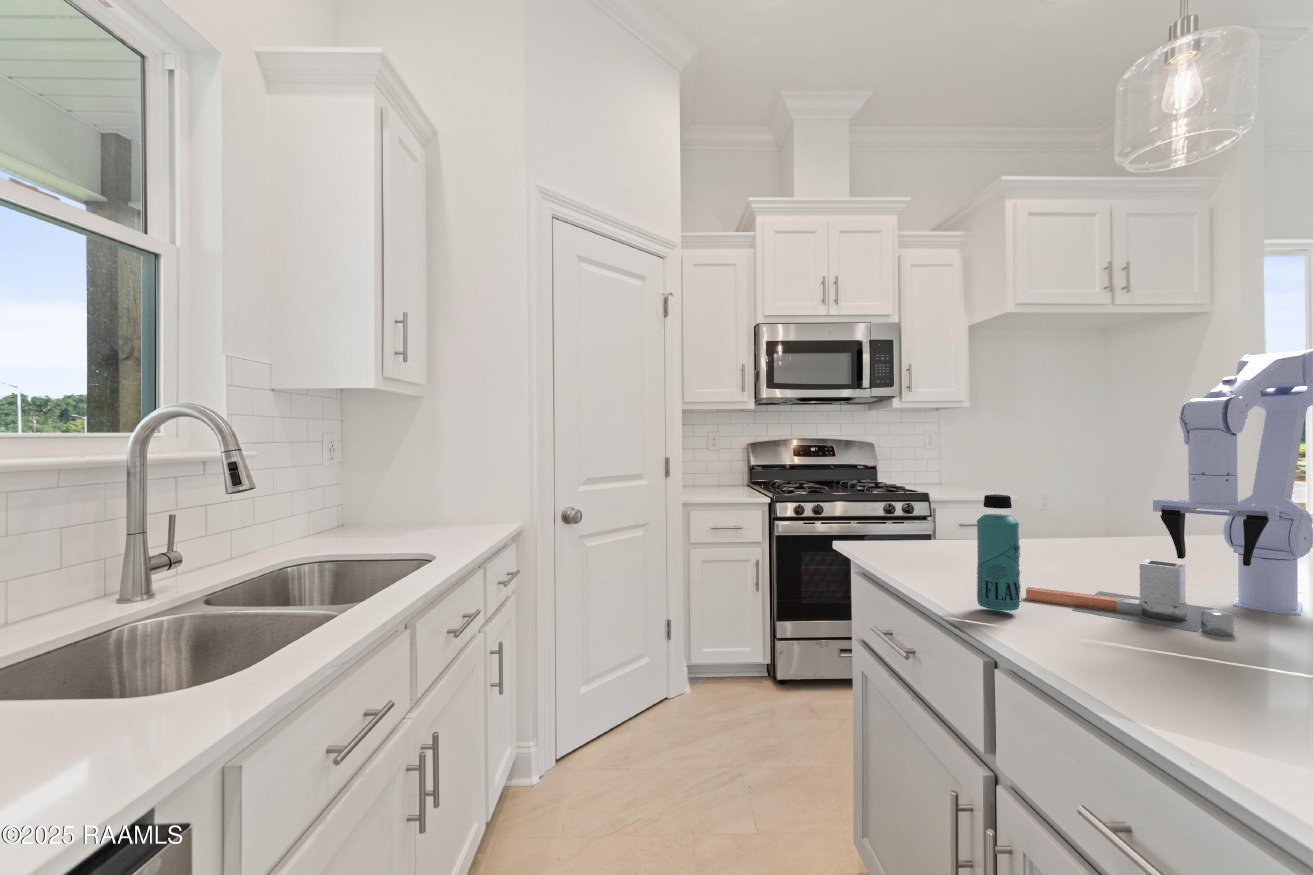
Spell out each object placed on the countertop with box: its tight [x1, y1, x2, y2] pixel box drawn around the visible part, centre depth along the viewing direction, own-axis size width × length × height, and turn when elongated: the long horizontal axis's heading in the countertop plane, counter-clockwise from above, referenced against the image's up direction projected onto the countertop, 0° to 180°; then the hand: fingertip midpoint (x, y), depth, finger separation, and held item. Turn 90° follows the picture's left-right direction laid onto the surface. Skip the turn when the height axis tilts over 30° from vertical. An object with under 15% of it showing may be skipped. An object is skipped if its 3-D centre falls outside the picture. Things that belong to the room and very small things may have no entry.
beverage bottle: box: [975, 493, 1022, 612], centre depth 103 cm, size 6×7×20 cm
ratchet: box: [1025, 586, 1188, 622], centre depth 105 cm, size 22×6×4 cm, turn 52°
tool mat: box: [1071, 590, 1214, 633], centre depth 104 cm, size 18×16×1 cm
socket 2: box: [1200, 609, 1235, 638], centre depth 92 cm, size 4×4×3 cm
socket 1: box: [1139, 559, 1186, 607], centre depth 100 cm, size 5×5×6 cm
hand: (1213, 561), depth 97 cm, fingers open, 7 cm apart
